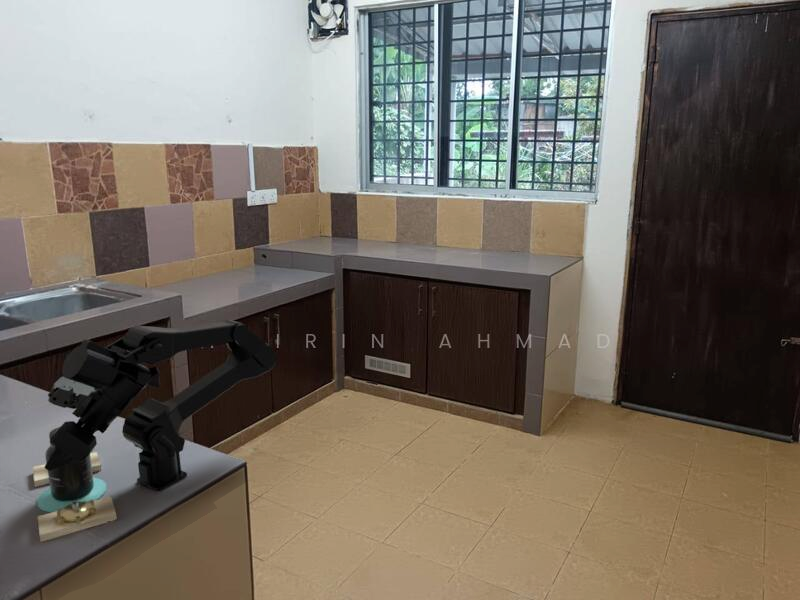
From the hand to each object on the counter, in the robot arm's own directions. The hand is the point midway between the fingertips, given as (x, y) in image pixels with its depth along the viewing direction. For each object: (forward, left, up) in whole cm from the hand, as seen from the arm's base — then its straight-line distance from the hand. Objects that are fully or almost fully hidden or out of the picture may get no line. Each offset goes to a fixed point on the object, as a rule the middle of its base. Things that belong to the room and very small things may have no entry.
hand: (57, 455), depth 107 cm
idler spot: (-1, +1, -8) cm, 8 cm away
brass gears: (-1, +1, -7) cm, 7 cm away
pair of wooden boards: (-1, +1, -8) cm, 8 cm away
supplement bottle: (-1, +1, -8) cm, 8 cm away
